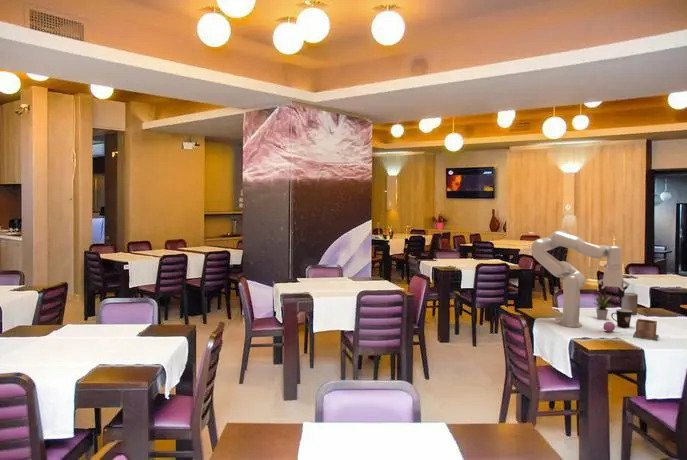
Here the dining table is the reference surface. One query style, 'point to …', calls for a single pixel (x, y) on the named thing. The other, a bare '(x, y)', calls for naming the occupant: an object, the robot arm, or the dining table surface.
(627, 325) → the coffee mug
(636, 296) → the pillar candle
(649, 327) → the wooden cube shelf
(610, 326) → the plum ball
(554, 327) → the dining table surface
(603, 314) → the house plant
